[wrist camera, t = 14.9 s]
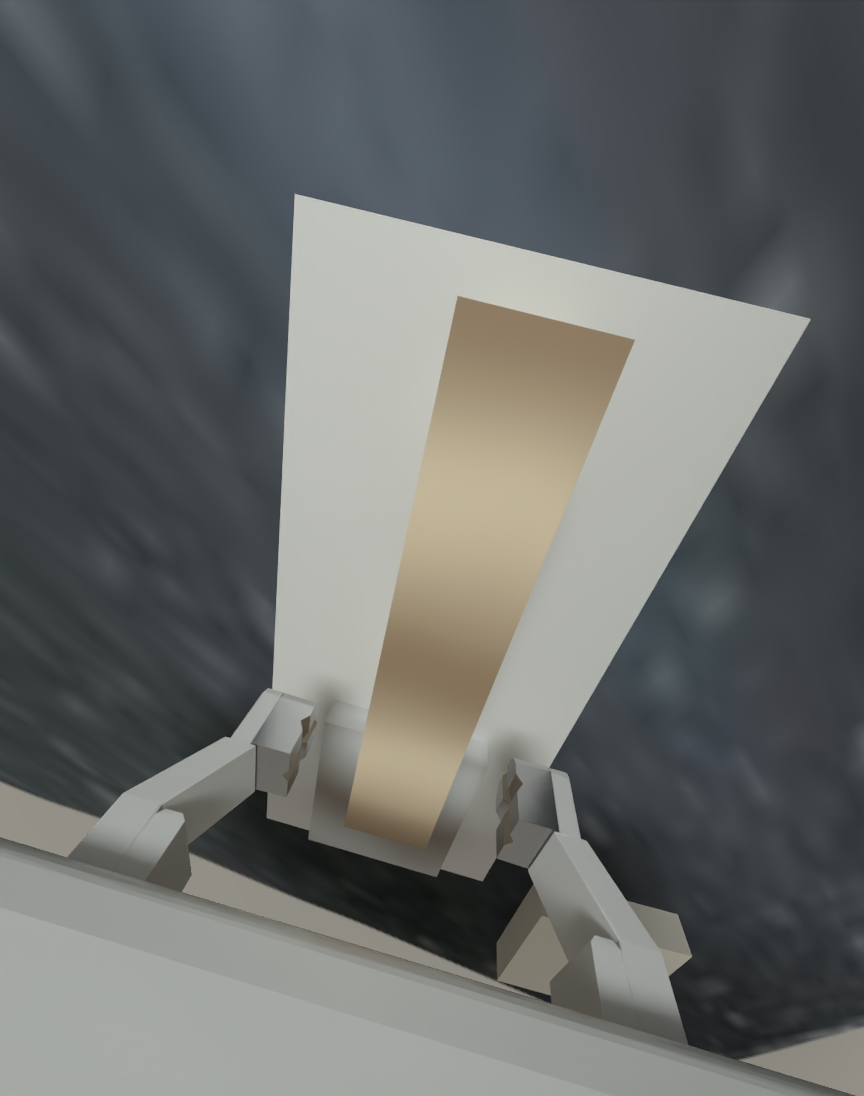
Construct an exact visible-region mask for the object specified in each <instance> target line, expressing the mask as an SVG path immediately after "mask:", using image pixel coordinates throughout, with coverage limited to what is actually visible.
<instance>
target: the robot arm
mask: <svg viewBox="0 0 864 1096" xmlns="http://www.w3.org/2000/svg"><path fill="white" fill-rule="evenodd" d="M318 712H319V704H318V703H315V702H312V701H309V700H305V699H302V698H299V697H296V696H293V695H289V694H286V693H283V692H280V691H276V690H273V689H269V688H268V689H266V690H265V691H264V692H263V693H262V694H261V696H260V697H259V698H258V700H257V701H256V703H255V704H254V705H253V707H252V708H251V710H250V711H249V713H248V714H247V715H246V717H245V718H244V720H243V721H242V722H241V724H240V725H239V727H238V728H237V729H236V731H235V732H234V734H233V735H232V736H231V738H229V737H224V738H222V739H220V740H218V741H216V742H215V743H213V744H211V745H209V746H207V747H206V748H204V749H202V750H200V751H198V752H197V753H195V754H193V755H191V756H189V757H188V758H186V759H184V760H182V761H180V762H179V763H177V764H175V765H173V766H171V767H170V768H168V769H166V770H164V771H162V772H161V773H159V774H157V775H155V776H153V777H152V778H150V779H148V780H146V781H144V782H142V783H141V784H139V785H137V786H135V787H133V788H132V789H130V790H128V791H126V792H124V793H123V794H122V795H121V796H120V797H119V798H118V800H117V801H116V802H115V803H114V804H113V805H112V806H111V808H110V809H109V810H108V811H107V812H106V813H105V814H104V816H103V817H102V818H101V819H100V820H99V821H98V823H97V824H96V825H95V826H94V827H93V828H92V829H91V830H90V832H89V833H88V834H87V835H86V836H85V837H84V839H83V840H82V841H81V842H80V843H79V844H78V845H77V847H76V848H75V849H74V850H73V851H72V852H71V853H70V855H69V856H68V857H63V856H60V855H57V854H54V853H50V852H47V851H43V850H40V849H37V848H34V847H30V846H27V845H24V844H20V843H17V842H14V841H10V840H7V839H4V838H0V1096H854V1095H851V1094H848V1093H844V1092H841V1091H838V1090H835V1089H832V1088H828V1087H825V1086H821V1085H818V1084H815V1083H812V1082H808V1081H805V1080H801V1079H798V1078H795V1077H792V1076H788V1075H785V1074H782V1073H778V1072H775V1071H772V1070H769V1069H765V1068H762V1067H759V1066H755V1065H752V1064H749V1063H745V1062H742V1061H739V1060H736V1059H732V1058H729V1057H726V1056H722V1055H719V1054H716V1053H712V1052H709V1051H706V1050H702V1049H699V1048H696V1047H693V1046H689V1045H688V1042H687V1039H686V1035H685V1032H684V1028H683V1025H682V1021H681V1018H680V1014H679V1011H678V1008H677V1004H676V1001H675V997H674V994H673V990H672V987H671V983H670V980H669V977H668V973H667V970H666V966H665V963H664V959H663V956H662V953H661V951H660V950H659V948H658V947H657V945H656V944H655V942H654V941H653V939H652V938H651V936H650V935H649V933H648V932H647V930H646V929H645V927H644V926H643V924H642V923H641V921H640V920H639V918H638V917H637V915H636V914H635V912H634V911H633V909H632V908H631V906H630V905H629V903H628V902H627V900H626V899H625V897H624V896H623V895H622V893H621V892H620V890H619V889H618V887H617V886H616V884H615V883H614V881H613V880H612V878H611V877H610V875H609V874H608V872H607V871H606V869H605V868H604V866H603V865H602V863H601V862H600V860H599V859H598V857H597V856H596V854H595V853H594V851H593V850H592V848H591V847H590V845H589V844H588V842H587V841H586V840H583V839H581V836H580V831H579V826H578V821H577V816H576V811H575V805H574V800H573V795H572V790H571V785H570V780H569V777H568V775H567V773H565V772H562V771H558V770H555V769H551V768H547V767H546V766H542V765H538V764H534V763H531V762H527V761H523V760H519V759H516V758H512V759H511V760H510V761H509V763H508V765H507V769H508V773H506V774H504V775H502V777H501V780H500V782H499V785H498V789H497V795H496V813H497V815H498V817H499V819H500V820H501V822H500V824H499V825H498V827H497V829H496V855H497V859H500V860H503V861H506V862H509V863H512V864H515V865H518V866H521V867H525V868H528V872H529V874H530V877H531V879H532V881H533V883H534V886H535V888H536V890H537V892H538V895H539V897H540V899H541V901H542V904H543V906H544V908H545V911H546V913H547V915H548V917H549V920H550V922H551V924H552V926H553V929H554V931H555V933H556V935H557V938H558V940H559V942H560V944H561V947H562V949H563V951H564V953H565V956H566V958H567V960H568V963H567V964H566V965H565V966H564V967H563V968H562V969H561V970H560V971H559V972H558V973H557V974H556V975H555V976H554V977H553V979H552V980H551V981H550V992H551V1003H552V1004H550V1003H547V1002H544V1001H540V1000H537V999H534V998H530V997H527V996H524V995H520V994H517V993H514V992H510V991H507V990H504V989H500V988H497V987H494V986H490V985H487V984H484V983H481V982H477V981H473V980H471V979H467V978H464V977H461V976H458V975H454V974H451V973H448V972H444V971H441V970H438V969H434V968H431V967H428V966H424V965H421V964H418V963H414V962H411V961H408V960H404V959H401V958H398V957H395V956H391V955H388V954H385V953H381V952H378V951H375V950H371V949H368V948H365V947H361V946H358V945H355V944H352V943H348V942H345V941H342V940H338V939H335V938H332V937H328V936H325V935H322V934H318V933H315V932H312V931H309V930H305V929H302V928H299V927H295V926H292V925H289V924H285V923H282V922H279V921H276V920H272V919H269V918H265V917H262V916H259V915H256V914H252V913H249V912H245V911H242V910H239V909H236V908H232V907H229V906H226V905H222V904H219V903H216V902H212V901H209V900H206V899H203V898H199V897H196V896H193V895H189V894H186V893H183V892H182V890H183V889H184V887H185V885H186V883H187V882H188V880H189V878H190V877H191V866H190V858H189V850H188V844H190V843H191V842H192V841H193V840H195V839H196V838H197V837H198V836H200V835H201V834H202V833H203V832H205V831H206V830H207V829H208V828H210V827H211V826H212V825H213V824H215V823H216V822H217V821H218V820H220V819H221V818H222V817H224V816H225V815H226V814H227V813H229V812H230V811H231V810H232V809H234V808H235V807H236V806H237V805H239V804H240V803H241V802H242V801H244V800H245V799H246V798H247V797H249V796H250V795H251V794H252V793H254V792H255V789H257V790H261V791H264V792H268V793H272V794H276V795H280V796H284V797H287V795H288V793H289V791H290V789H291V787H292V785H293V783H294V781H295V778H296V776H297V774H298V771H299V762H300V761H301V760H302V759H304V758H305V757H306V756H307V753H308V751H309V749H310V747H311V744H312V741H313V739H314V736H315V732H316V727H317V721H316V720H315V718H316V716H317V714H318Z"/></svg>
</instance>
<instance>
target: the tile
mask: <svg viewBox="0 0 864 1096" xmlns="http://www.w3.org/2000/svg"><path fill="white" fill-rule="evenodd" d="M627 902H628V903H629V905H630V906H631V908H632V909H633V911H634V912H635V914H636V915H637V917H638V918H639V920H640V921H641V923H642V924H643V926H644V927H645V929H646V930H647V932H648V933H649V935H650V936H651V938H652V939H653V941H654V942H655V944H656V945H657V947H658V948H659V950H660V951H661V953H662V956H663V959H664V963H665V966H666V970H667V973H668V976H670V975H671V974H672V973H673V972H674V971H676V970H677V969H678V968H679V967H680V966H682V965H683V964H684V963H685V962H686V961H688V960H689V959H690V958H691V957H692V954H691V952H690V949H689V946H688V943H687V940H686V937H685V934H684V931H683V928H682V925H681V923H680V920H679V917H678V914H674V913H671V912H667V911H663V910H660V909H656V908H652V907H648V906H645V905H641V904H637V903H634V902H630V901H627ZM567 963H568V960H567V958H566V956H565V953H564V951H563V949H562V947H561V944H560V942H559V940H558V938H557V935H556V933H555V931H554V929H553V926H552V924H551V922H550V920H549V917H548V915H547V913H546V911H545V908H544V906H543V904H542V901H541V899H540V897H539V895H538V892H537V890H536V888H535V886H534V884H533V886H532V887H531V889H530V890H529V892H528V894H527V895H526V897H525V898H524V900H523V902H522V903H521V905H520V906H519V908H518V910H517V911H516V913H515V914H514V916H513V917H512V919H511V921H510V922H509V924H508V925H507V927H506V929H505V930H504V932H503V933H502V935H501V937H500V938H499V940H498V941H497V981H501V982H504V983H508V984H511V985H515V986H519V987H522V988H526V989H529V990H533V991H536V992H540V993H543V994H547V995H551V992H550V981H551V980H552V979H553V977H554V976H555V975H556V974H557V973H558V972H559V971H560V970H561V969H562V968H563V967H564V966H565V965H566V964H567Z"/></svg>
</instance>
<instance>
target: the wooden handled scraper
mask: <svg viewBox="0 0 864 1096" xmlns="http://www.w3.org/2000/svg"><path fill="white" fill-rule="evenodd" d="M634 341H635V340H634V339H630V338H626V337H622V336H618V335H614V334H610V333H606V332H602V331H597V330H593V329H589V328H585V327H581V326H577V325H573V324H569V323H565V322H561V321H557V320H553V319H549V318H545V317H541V316H537V315H533V314H529V313H525V312H521V311H517V310H513V309H509V308H505V307H501V306H497V305H493V304H489V303H485V302H480V301H476V300H472V299H468V298H464V297H460V296H457V301H456V306H455V310H454V315H453V320H452V324H451V329H450V334H449V338H448V343H447V348H446V352H445V357H444V362H443V366H442V371H441V376H440V380H439V385H438V390H437V394H436V399H435V404H434V408H433V413H432V418H431V422H430V427H429V432H428V436H427V441H426V446H425V450H424V455H423V460H422V464H421V469H420V474H419V478H418V483H417V488H416V492H415V497H414V502H413V506H412V511H411V516H410V520H409V525H408V530H407V534H406V539H405V544H404V548H403V553H402V558H401V562H400V567H399V572H398V576H397V581H396V586H395V590H394V595H393V599H392V604H391V609H390V613H389V618H388V623H387V627H386V632H385V637H384V641H383V646H382V651H381V655H380V660H379V665H378V669H377V674H376V679H375V683H374V688H373V693H372V697H371V702H370V707H369V709H366V708H363V707H359V706H356V705H352V704H349V703H345V702H341V701H338V700H335V701H334V703H333V705H332V707H331V710H330V712H329V714H328V716H327V718H326V720H325V724H324V731H323V738H322V745H321V752H320V759H319V766H318V773H317V781H316V788H315V795H314V802H313V809H312V816H311V823H310V830H309V837H308V839H309V840H312V841H316V842H319V843H322V844H326V845H329V846H333V847H336V848H339V849H343V850H346V851H350V852H353V853H356V854H360V855H363V856H367V857H370V858H373V859H377V860H380V861H384V862H387V863H390V864H394V865H397V866H400V867H404V868H407V869H411V870H414V871H417V872H421V873H424V874H428V875H431V876H434V877H437V875H438V873H439V871H440V869H441V867H442V864H443V862H444V860H445V858H446V856H447V854H448V852H449V849H450V847H451V845H452V843H453V841H454V839H455V837H456V834H457V832H458V830H459V828H460V826H461V824H462V822H463V819H464V817H465V815H466V813H467V811H468V809H469V807H470V804H471V802H472V800H473V798H474V796H475V794H476V792H477V789H478V787H479V785H480V783H481V781H482V779H483V777H484V774H485V772H486V770H487V768H488V743H487V742H483V741H479V740H476V739H472V738H471V737H472V735H473V732H474V730H475V728H476V725H477V723H478V720H479V718H480V715H481V713H482V711H483V708H484V706H485V703H486V701H487V698H488V696H489V694H490V691H491V689H492V686H493V684H494V681H495V679H496V677H497V674H498V672H499V669H500V667H501V664H502V662H503V660H504V657H505V655H506V652H507V650H508V647H509V645H510V643H511V640H512V638H513V635H514V633H515V630H516V628H517V626H518V623H519V621H520V618H521V616H522V613H523V611H524V609H525V606H526V604H527V601H528V599H529V596H530V594H531V592H532V589H533V587H534V584H535V582H536V579H537V577H538V575H539V572H540V570H541V567H542V565H543V562H544V560H545V558H546V555H547V553H548V550H549V548H550V545H551V543H552V541H553V538H554V536H555V533H556V531H557V528H558V526H559V524H560V521H561V519H562V516H563V514H564V511H565V509H566V507H567V504H568V502H569V499H570V497H571V494H572V492H573V490H574V487H575V485H576V482H577V480H578V477H579V475H580V473H581V470H582V468H583V465H584V463H585V460H586V458H587V456H588V453H589V451H590V448H591V446H592V443H593V441H594V439H595V436H596V434H597V431H598V429H599V426H600V424H601V422H602V419H603V417H604V414H605V412H606V409H607V407H608V405H609V402H610V400H611V397H612V395H613V392H614V390H615V388H616V385H617V383H618V380H619V378H620V375H621V373H622V371H623V368H624V366H625V363H626V361H627V358H628V356H629V354H630V351H631V349H632V346H633V344H634Z"/></svg>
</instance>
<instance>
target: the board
mask: <svg viewBox="0 0 864 1096" xmlns="http://www.w3.org/2000/svg"><path fill="white" fill-rule="evenodd" d="M457 296H460V297H464V298H468V299H472V300H476V301H480V302H485V303H489V304H493V305H497V306H501V307H505V308H509V309H513V310H517V311H521V312H525V313H529V314H533V315H537V316H541V317H545V318H549V319H553V320H557V321H561V322H565V323H569V324H573V325H577V326H581V327H585V328H589V329H593V330H597V331H602V332H606V333H610V334H614V335H618V336H622V337H626V338H630V339H634V340H635V341H634V344H633V346H632V349H631V351H630V354H629V356H628V358H627V361H626V363H625V366H624V368H623V371H622V373H621V375H620V378H619V380H618V383H617V385H616V388H615V390H614V392H613V395H612V397H611V400H610V402H609V405H608V407H607V409H606V412H605V414H604V417H603V419H602V422H601V424H600V426H599V429H598V431H597V434H596V436H595V439H594V441H593V443H592V446H591V448H590V451H589V453H588V456H587V458H586V460H585V463H584V465H583V468H582V470H581V473H580V475H579V477H578V480H577V482H576V485H575V487H574V490H573V492H572V494H571V497H570V499H569V502H568V504H567V507H566V509H565V511H564V514H563V516H562V519H561V521H560V524H559V526H558V528H557V531H556V533H555V536H554V538H553V541H552V543H551V545H550V548H549V550H548V553H547V555H546V558H545V560H544V562H543V565H542V567H541V570H540V572H539V575H538V577H537V579H536V582H535V584H534V587H533V589H532V592H531V594H530V596H529V599H528V601H527V604H526V606H525V609H524V611H523V613H522V616H521V618H520V621H519V623H518V626H517V628H516V630H515V633H514V635H513V638H512V640H511V643H510V645H509V647H508V650H507V652H506V655H505V657H504V660H503V662H502V664H501V667H500V669H499V672H498V674H497V677H496V679H495V681H494V684H493V686H492V689H491V691H490V694H489V696H488V698H487V701H486V703H485V706H484V708H483V711H482V713H481V715H480V718H479V720H478V723H477V725H476V728H475V730H474V732H473V735H472V737H471V738H472V739H476V740H479V741H483V742H487V743H488V768H487V770H486V772H485V774H484V777H483V779H482V781H481V783H480V785H479V787H478V789H477V792H476V794H475V796H474V798H473V800H472V802H471V804H470V807H469V809H468V811H467V813H466V815H465V817H464V819H463V822H462V824H461V826H460V828H459V830H458V832H457V834H456V837H455V839H454V841H453V843H452V845H451V847H450V849H449V852H448V854H447V856H446V858H445V860H444V862H443V864H442V867H441V869H442V870H446V871H449V872H452V873H456V874H459V875H463V876H466V877H469V878H473V879H476V880H480V881H483V880H484V878H485V876H486V875H487V873H488V871H489V870H490V868H491V866H492V864H493V863H494V861H495V859H496V858H497V855H496V829H497V827H498V825H499V824H500V822H501V820H500V819H499V817H498V815H497V813H496V795H497V789H498V785H499V782H500V780H501V777H502V775H504V774H506V773H508V769H507V765H508V763H509V761H510V760H511V759H512V758H516V759H519V760H523V761H527V762H531V763H534V764H538V765H542V766H546V767H547V768H549V767H550V765H551V763H552V762H553V760H554V758H555V756H556V755H557V753H558V751H559V750H560V748H561V746H562V745H563V743H564V741H565V739H566V738H567V736H568V734H569V733H570V731H571V729H572V727H573V726H574V724H575V722H576V721H577V719H578V717H579V715H580V714H581V712H582V710H583V709H584V707H585V705H586V703H587V702H588V700H589V698H590V697H591V695H592V693H593V691H594V690H595V688H596V686H597V685H598V683H599V681H600V679H601V678H602V676H603V674H604V673H605V671H606V669H607V667H608V666H609V664H610V662H611V661H612V659H613V657H614V655H615V654H616V652H617V650H618V649H619V647H620V645H621V643H622V642H623V640H624V638H625V637H626V635H627V633H628V631H629V630H630V628H631V626H632V625H633V623H634V621H635V619H636V618H637V616H638V614H639V613H640V611H641V609H642V607H643V606H644V604H645V602H646V601H647V599H648V597H649V596H650V594H651V592H652V590H653V589H654V587H655V585H656V584H657V582H658V580H659V578H660V577H661V575H662V573H663V572H664V570H665V568H666V566H667V565H668V563H669V561H670V560H671V558H672V556H673V554H674V553H675V551H676V549H677V548H678V546H679V544H680V542H681V541H682V539H683V537H684V536H685V534H686V532H687V530H688V529H689V527H690V525H691V524H692V522H693V520H694V518H695V517H696V515H697V513H698V512H699V510H700V508H701V506H702V505H703V503H704V501H705V500H706V498H707V496H708V494H709V493H710V491H711V489H712V488H713V486H714V484H715V482H716V481H717V479H718V477H719V476H720V474H721V472H722V470H723V469H724V467H725V465H726V464H727V462H728V460H729V458H730V457H731V455H732V453H733V452H734V450H735V448H736V446H737V445H738V443H739V441H740V440H741V438H742V436H743V435H744V433H745V431H746V429H747V428H748V426H749V424H750V423H751V421H752V419H753V417H754V416H755V414H756V412H757V411H758V409H759V407H760V405H761V404H762V402H763V400H764V399H765V397H766V395H767V393H768V392H769V390H770V388H771V387H772V385H773V383H774V381H775V380H776V378H777V376H778V375H779V373H780V371H781V369H782V368H783V366H784V364H785V363H786V361H787V359H788V357H789V356H790V354H791V352H792V351H793V349H794V347H795V345H796V344H797V342H798V340H799V339H800V337H801V335H802V333H803V332H804V330H805V328H806V327H807V325H808V323H809V321H810V320H811V319H809V318H805V317H801V316H797V315H792V314H788V313H784V312H780V311H776V310H772V309H768V308H764V307H759V306H755V305H751V304H747V303H743V302H739V301H735V300H731V299H726V298H722V297H718V296H714V295H710V294H706V293H702V292H697V291H693V290H689V289H685V288H681V287H677V286H673V285H669V284H664V283H660V282H656V281H652V280H648V279H644V278H640V277H636V276H631V275H627V274H623V273H619V272H615V271H611V270H607V269H603V268H598V267H594V266H590V265H586V264H582V263H578V262H574V261H569V260H565V259H561V258H557V257H553V256H549V255H545V254H541V253H536V252H532V251H528V250H524V249H520V248H516V247H512V246H508V245H503V244H499V243H495V242H491V241H487V240H483V239H479V238H475V237H470V236H466V235H462V234H458V233H454V232H450V231H446V230H441V229H437V228H433V227H429V226H425V225H421V224H417V223H413V222H408V221H404V220H400V219H396V218H392V217H388V216H384V215H380V214H375V213H371V212H367V211H363V210H359V209H355V208H351V207H347V206H342V205H338V204H334V203H330V202H326V201H322V200H318V199H313V198H309V197H305V196H301V195H297V194H295V203H294V225H293V247H292V269H291V291H290V313H289V335H288V357H287V380H286V402H285V424H284V446H283V468H282V490H281V512H280V534H279V556H278V578H277V600H276V622H275V645H274V667H273V690H276V691H280V692H283V693H286V694H289V695H293V696H296V697H299V698H302V699H305V700H309V701H312V702H315V703H318V704H319V712H318V714H317V716H316V718H315V720H316V721H317V727H316V732H315V736H314V739H313V741H312V744H311V747H310V749H309V751H308V753H307V756H306V757H305V758H304V759H302V760H301V761H300V762H299V771H298V774H297V776H296V778H295V781H294V783H293V785H292V787H291V789H290V791H289V793H288V795H287V797H284V796H280V795H276V794H272V793H268V799H267V818H268V819H272V820H275V821H279V822H282V823H285V824H289V825H292V826H296V827H299V828H302V829H306V830H310V823H311V816H312V809H313V802H314V795H315V788H316V781H317V773H318V766H319V759H320V752H321V745H322V738H323V731H324V724H325V720H326V718H327V716H328V714H329V712H330V710H331V707H332V705H333V703H334V701H335V700H338V701H341V702H345V703H349V704H352V705H356V706H359V707H363V708H366V709H369V707H370V702H371V697H372V693H373V688H374V683H375V679H376V674H377V669H378V665H379V660H380V655H381V651H382V646H383V641H384V637H385V632H386V627H387V623H388V618H389V613H390V609H391V604H392V599H393V595H394V590H395V586H396V581H397V576H398V572H399V567H400V562H401V558H402V553H403V548H404V544H405V539H406V534H407V530H408V525H409V520H410V516H411V511H412V506H413V502H414V497H415V492H416V488H417V483H418V478H419V474H420V469H421V464H422V460H423V455H424V450H425V446H426V441H427V436H428V432H429V427H430V422H431V418H432V413H433V408H434V404H435V399H436V394H437V390H438V385H439V380H440V376H441V371H442V366H443V362H444V357H445V352H446V348H447V343H448V338H449V334H450V329H451V324H452V320H453V315H454V310H455V306H456V301H457Z"/></svg>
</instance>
